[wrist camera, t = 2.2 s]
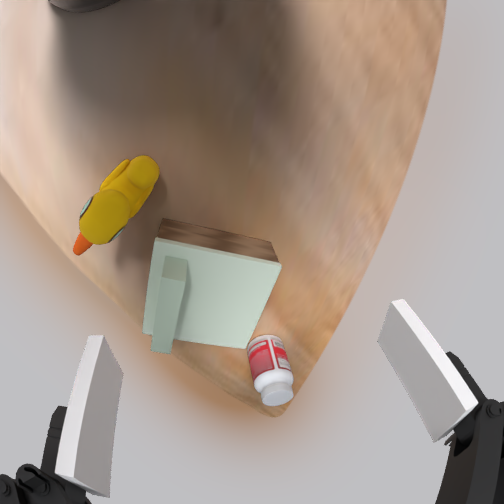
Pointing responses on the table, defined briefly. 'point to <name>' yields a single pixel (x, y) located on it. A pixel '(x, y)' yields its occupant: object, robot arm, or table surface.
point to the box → (216, 240)
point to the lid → (204, 295)
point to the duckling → (116, 202)
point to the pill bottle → (270, 370)
